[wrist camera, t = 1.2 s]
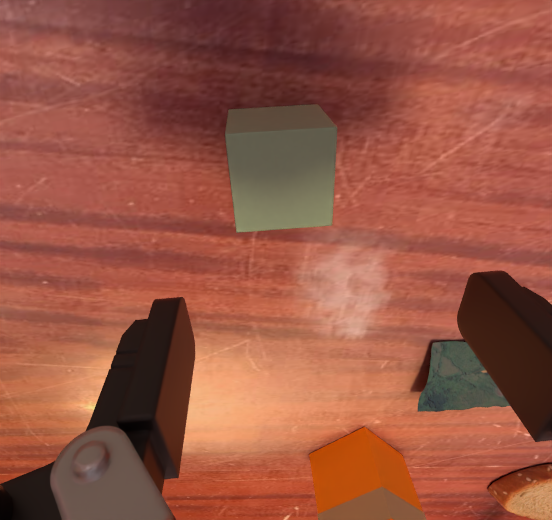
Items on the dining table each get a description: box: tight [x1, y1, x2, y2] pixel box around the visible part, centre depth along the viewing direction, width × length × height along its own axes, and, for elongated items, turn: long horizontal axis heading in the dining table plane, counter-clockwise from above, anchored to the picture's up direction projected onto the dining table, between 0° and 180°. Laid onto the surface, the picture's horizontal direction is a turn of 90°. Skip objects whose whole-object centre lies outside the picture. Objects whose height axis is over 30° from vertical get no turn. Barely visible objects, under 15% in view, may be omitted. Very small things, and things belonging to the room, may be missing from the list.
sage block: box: [225, 104, 337, 233], centre depth 19 cm, size 5×5×5 cm
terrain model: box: [418, 341, 510, 412], centre depth 34 cm, size 13×8×2 cm, turn 86°
